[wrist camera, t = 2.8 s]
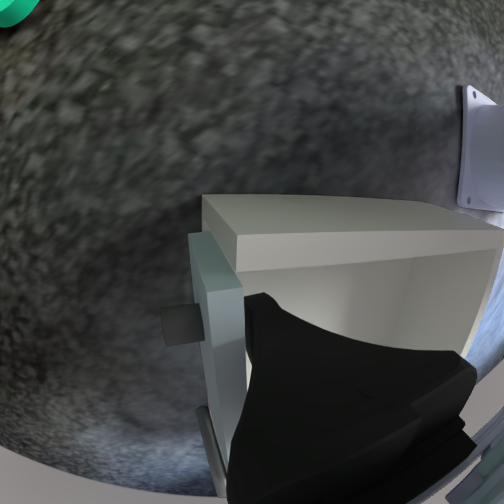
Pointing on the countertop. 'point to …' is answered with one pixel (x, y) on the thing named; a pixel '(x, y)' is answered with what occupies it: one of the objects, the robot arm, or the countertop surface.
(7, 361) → the countertop surface
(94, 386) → the countertop surface
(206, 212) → the cream case
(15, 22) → the camera mount
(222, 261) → the case door
